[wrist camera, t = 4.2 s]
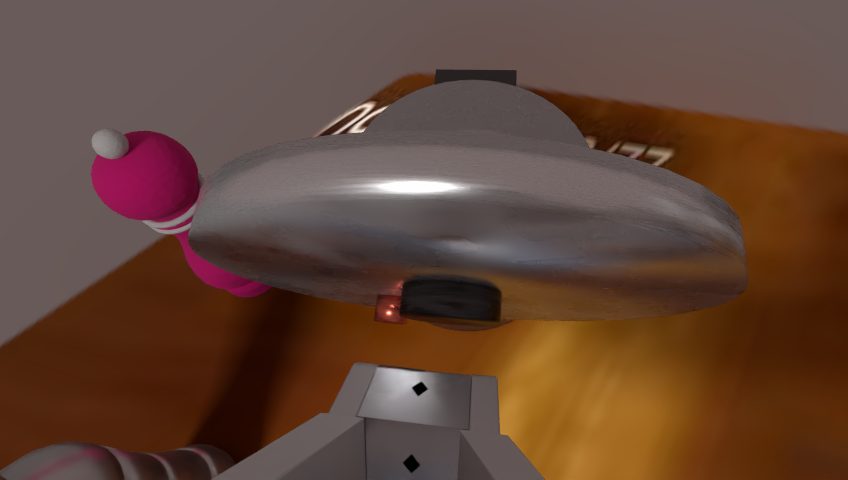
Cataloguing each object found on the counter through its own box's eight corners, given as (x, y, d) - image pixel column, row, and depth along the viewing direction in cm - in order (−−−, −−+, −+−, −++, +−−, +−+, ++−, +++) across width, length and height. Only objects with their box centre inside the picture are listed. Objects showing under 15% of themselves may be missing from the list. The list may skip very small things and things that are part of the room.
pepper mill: (249, 226, 44) (104, 75, 26) (303, 253, 42) (186, 109, 24) (203, 283, 41) (8, 158, 24) (259, 315, 39) (92, 205, 22)
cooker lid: (1002, 146, 7) (1056, 308, 6) (615, 304, 25) (617, 350, 24) (16, 118, 9) (-31, 233, 9) (314, 281, 27) (307, 322, 27)
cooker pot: (556, 152, 45) (585, 60, 34) (564, 352, 36) (608, 311, 25) (393, 146, 47) (373, 58, 37) (360, 334, 38) (320, 289, 27)
